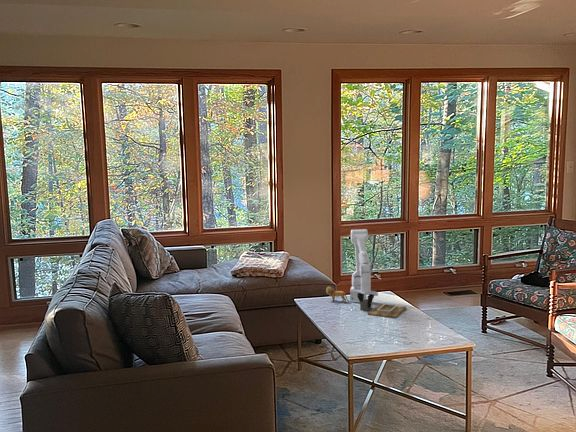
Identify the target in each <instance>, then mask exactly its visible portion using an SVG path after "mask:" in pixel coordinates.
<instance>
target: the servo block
mask: <svg viewBox="0 0 576 432" xmlns="http://www.w3.org/2000/svg"><path fill="white" fill-rule="evenodd" d="M359 307H360V311H365V312H367V311H369V310H371V309H372V306H371V307H370V308H369V307H368V297H366V299H364V300H362V301H361V302H360V303H359Z"/></svg>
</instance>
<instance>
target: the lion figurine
mask: <svg viewBox="0 0 576 432" xmlns="http://www.w3.org/2000/svg"><path fill="white" fill-rule="evenodd" d="M325 293H326V294H327V295H329V297H331V302H332V301H333V302H334V301H335V300H336V299H335V297H336V298H341V301H342V302H343V303H344V304H346V302H347V303H348V302H350V299H349V300H348V297H347V294H346V293H345V291H344V290H343V291H342V290H337V289H335V288H333V287H332V286H327V287H326V289H325Z"/></svg>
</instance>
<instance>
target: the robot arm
mask: <svg viewBox="0 0 576 432" xmlns="http://www.w3.org/2000/svg"><path fill="white" fill-rule="evenodd" d="M368 232H369V231H368V229H366V228H363V229H351V230H350V242H351V244H352V245H354V256H355V257H354V258H355V271H354V272H353V273H352V274H351V287H350V290H349V294H350V295H349V302H350V303H358V304H360V302H361V301H362V300H364V299H366V298H368V307H369V308H370V307H371V308H372V303H373V300H374V297H378V296H379V291H374V290H371V287H372V285H371V284H372V282H371V281H372V279H371V273H372V272H373V271H372V269H373V267H372V263H371V261H370V257H369V253H368V252H367V250H366V249H367V248H366V243H367V241H368V238H369V233H368ZM371 308H370V309H371Z"/></svg>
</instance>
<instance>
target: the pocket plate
mask: <svg viewBox="0 0 576 432" xmlns="http://www.w3.org/2000/svg"><path fill="white" fill-rule="evenodd" d="M406 310H407V306H401V305H397V304H389V303H383V304H382V303H379V304H378V305H376V307H374V308H371V309H370V311H369V312H367V315H369V316H376V317H383V318H392V319H396V318H398V317H399V316H400V315H401V314H402V313H403V312H404V311H406Z"/></svg>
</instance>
